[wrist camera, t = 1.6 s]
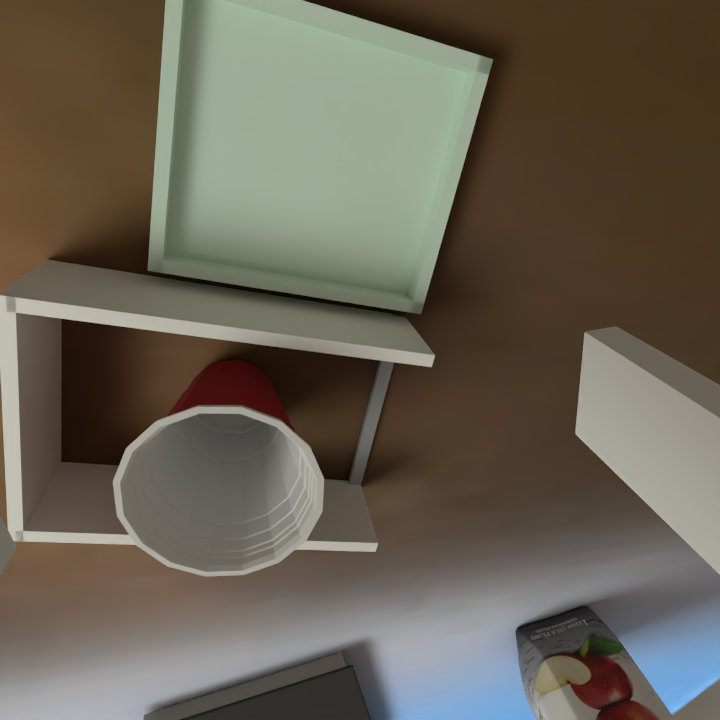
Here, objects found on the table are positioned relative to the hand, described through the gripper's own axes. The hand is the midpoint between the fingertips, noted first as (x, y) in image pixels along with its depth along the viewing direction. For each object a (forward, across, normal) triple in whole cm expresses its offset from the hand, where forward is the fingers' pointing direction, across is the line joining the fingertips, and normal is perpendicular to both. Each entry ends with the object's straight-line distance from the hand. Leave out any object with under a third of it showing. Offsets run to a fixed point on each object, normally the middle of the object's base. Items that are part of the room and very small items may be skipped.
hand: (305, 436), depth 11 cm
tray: (+24, +3, +4) cm, 25 cm away
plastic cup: (+25, -5, -11) cm, 28 cm away
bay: (+24, -5, -11) cm, 27 cm away
